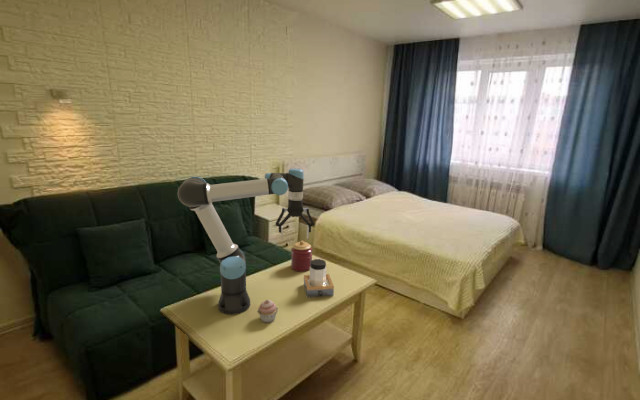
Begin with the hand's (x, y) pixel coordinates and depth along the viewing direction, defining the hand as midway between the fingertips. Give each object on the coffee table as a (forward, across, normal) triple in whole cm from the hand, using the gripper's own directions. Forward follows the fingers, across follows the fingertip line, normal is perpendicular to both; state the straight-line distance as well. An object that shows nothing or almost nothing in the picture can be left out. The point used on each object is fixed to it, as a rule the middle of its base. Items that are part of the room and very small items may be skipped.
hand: (294, 238), depth 174 cm
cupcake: (+29, -14, -29) cm, 43 cm away
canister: (+28, +7, +24) cm, 38 cm away
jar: (+24, +12, -4) cm, 28 cm away
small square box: (+28, +13, -4) cm, 31 cm away
